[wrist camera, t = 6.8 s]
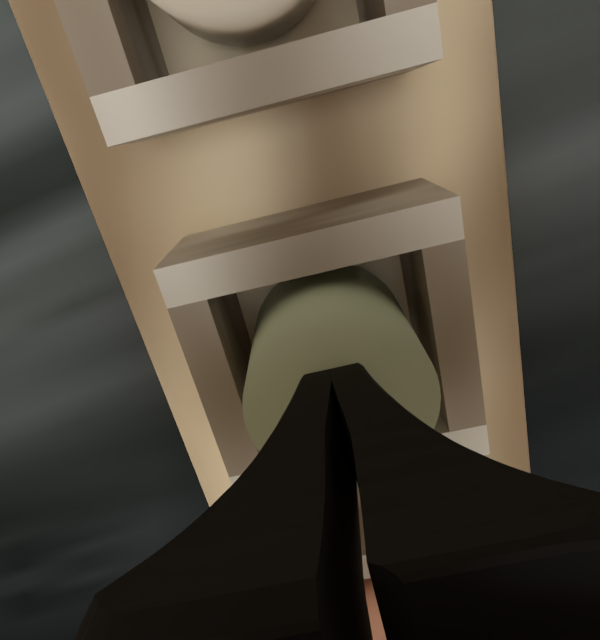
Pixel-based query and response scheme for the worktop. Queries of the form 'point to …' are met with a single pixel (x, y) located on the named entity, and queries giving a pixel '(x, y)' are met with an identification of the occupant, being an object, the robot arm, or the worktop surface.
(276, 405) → the sage key
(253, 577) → the robot arm
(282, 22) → the ivory key
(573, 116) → the worktop surface
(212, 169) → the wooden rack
